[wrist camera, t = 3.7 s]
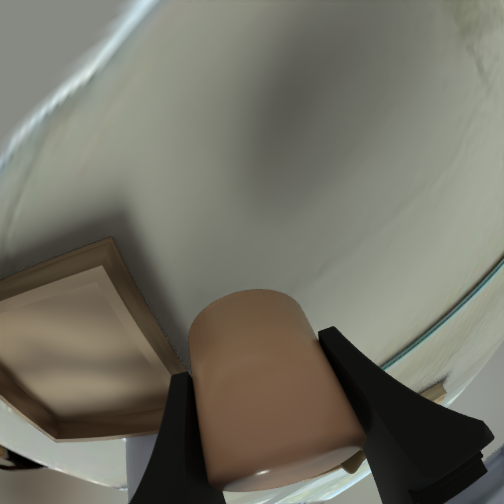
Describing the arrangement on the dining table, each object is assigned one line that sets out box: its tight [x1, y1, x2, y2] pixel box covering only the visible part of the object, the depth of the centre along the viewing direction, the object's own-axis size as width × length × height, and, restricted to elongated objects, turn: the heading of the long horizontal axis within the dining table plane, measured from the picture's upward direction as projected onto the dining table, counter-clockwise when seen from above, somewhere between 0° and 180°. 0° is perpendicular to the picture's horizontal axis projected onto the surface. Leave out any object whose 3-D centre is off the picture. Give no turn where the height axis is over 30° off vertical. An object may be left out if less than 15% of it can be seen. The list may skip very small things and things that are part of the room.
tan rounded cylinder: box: [188, 289, 367, 492], centre depth 10 cm, size 5×5×6 cm
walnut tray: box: [0, 237, 187, 443], centre depth 19 cm, size 18×18×3 cm
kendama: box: [340, 448, 366, 474], centre depth 42 cm, size 6×10×20 cm
